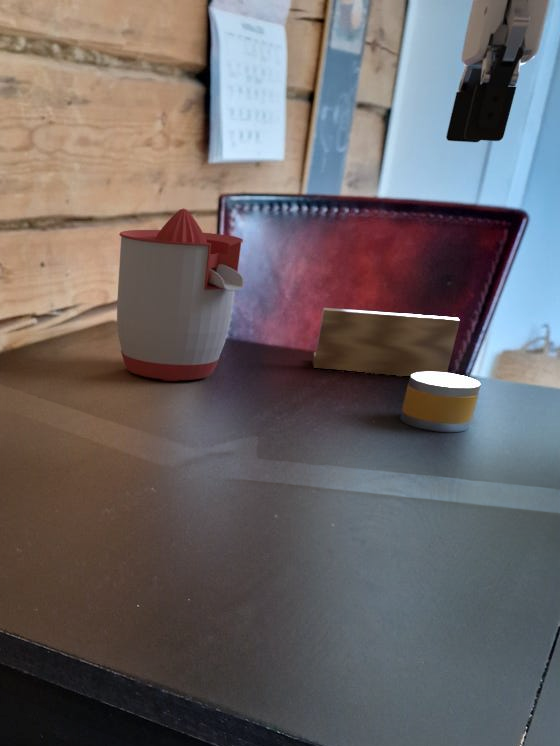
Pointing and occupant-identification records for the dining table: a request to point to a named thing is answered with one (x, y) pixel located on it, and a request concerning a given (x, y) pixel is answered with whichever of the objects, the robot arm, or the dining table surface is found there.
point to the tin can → (440, 401)
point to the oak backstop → (384, 342)
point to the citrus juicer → (176, 298)
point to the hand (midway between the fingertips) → (472, 140)
